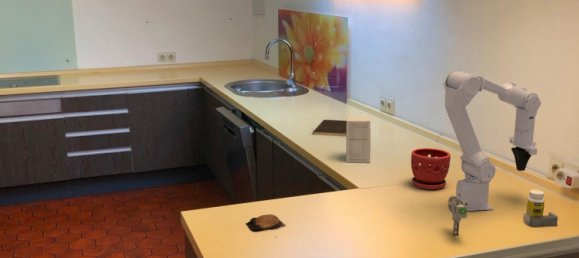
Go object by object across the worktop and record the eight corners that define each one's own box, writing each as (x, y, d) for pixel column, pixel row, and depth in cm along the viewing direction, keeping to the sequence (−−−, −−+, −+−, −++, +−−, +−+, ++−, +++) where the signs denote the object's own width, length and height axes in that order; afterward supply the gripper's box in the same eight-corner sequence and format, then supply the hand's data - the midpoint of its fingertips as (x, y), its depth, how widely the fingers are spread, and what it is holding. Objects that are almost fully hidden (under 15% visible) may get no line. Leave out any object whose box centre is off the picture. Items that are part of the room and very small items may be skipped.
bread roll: (276, 219, 190) (276, 207, 189) (287, 228, 182) (287, 217, 181) (243, 224, 185) (243, 213, 185) (253, 235, 178) (253, 223, 177)
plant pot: (449, 192, 208) (451, 158, 205) (409, 190, 211) (411, 156, 208) (448, 180, 221) (449, 147, 218) (410, 178, 223) (411, 146, 220)
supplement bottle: (532, 222, 184) (534, 195, 182) (522, 216, 188) (524, 190, 186) (546, 220, 185) (548, 193, 183) (535, 214, 190) (538, 188, 187)
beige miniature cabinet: (369, 156, 250) (370, 115, 246) (370, 163, 241) (371, 120, 237) (345, 155, 251) (346, 115, 247) (345, 162, 242) (346, 120, 238)
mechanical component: (455, 227, 181) (457, 194, 178) (466, 242, 171) (468, 207, 168) (445, 227, 181) (447, 194, 178) (455, 242, 171) (458, 208, 168)
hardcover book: (355, 125, 301) (355, 121, 300) (347, 137, 279) (347, 132, 279) (322, 124, 305) (323, 119, 304) (312, 135, 283) (312, 130, 283)
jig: (530, 227, 180) (531, 219, 180) (523, 221, 184) (524, 213, 184) (558, 225, 181) (559, 217, 181) (551, 219, 185) (551, 211, 185)
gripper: (548, 134, 190) (543, 176, 193) (525, 123, 204) (522, 162, 207) (525, 135, 189) (522, 177, 192) (504, 123, 203) (501, 163, 206)
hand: (520, 170), depth 200 cm, fingers closed
